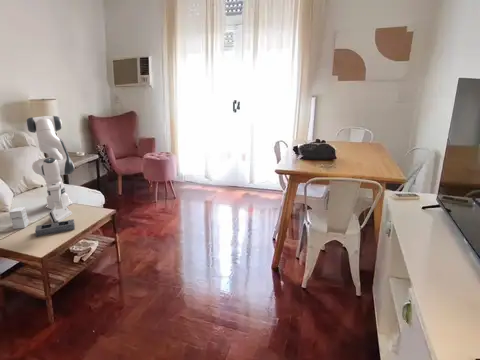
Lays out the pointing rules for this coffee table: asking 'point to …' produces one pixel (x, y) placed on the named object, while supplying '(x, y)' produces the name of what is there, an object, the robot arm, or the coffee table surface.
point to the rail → (55, 227)
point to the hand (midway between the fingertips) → (58, 204)
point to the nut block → (60, 204)
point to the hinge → (59, 214)
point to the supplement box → (19, 217)
